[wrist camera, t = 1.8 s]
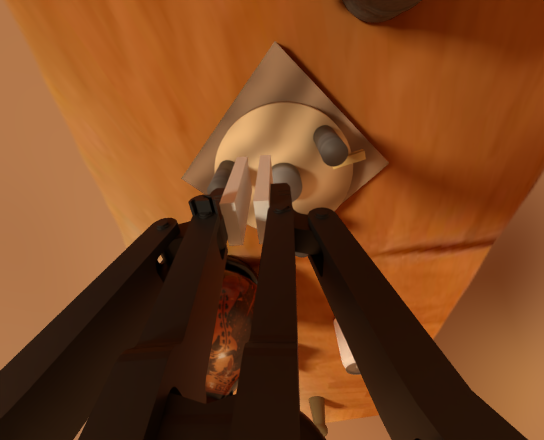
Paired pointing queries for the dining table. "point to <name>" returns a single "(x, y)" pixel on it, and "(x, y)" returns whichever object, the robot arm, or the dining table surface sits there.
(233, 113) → the stand
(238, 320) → the amphora vase
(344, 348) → the can
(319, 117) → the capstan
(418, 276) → the dining table surface
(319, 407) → the brown tapered piece
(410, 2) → the beer stein
